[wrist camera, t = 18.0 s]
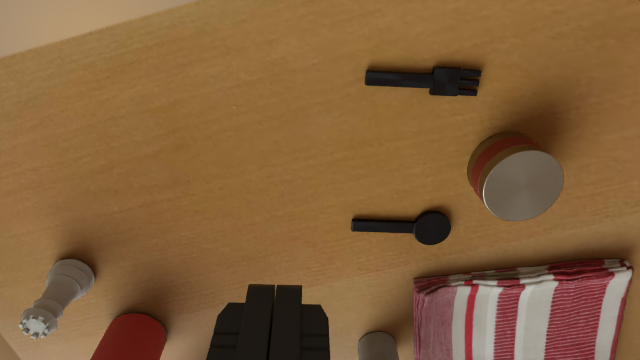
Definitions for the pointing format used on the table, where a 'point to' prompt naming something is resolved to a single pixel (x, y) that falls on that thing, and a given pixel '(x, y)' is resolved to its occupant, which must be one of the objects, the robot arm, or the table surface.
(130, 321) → the beer can
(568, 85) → the table surface
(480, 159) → the tin can
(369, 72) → the fork
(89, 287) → the rook chess piece
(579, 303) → the dish towel
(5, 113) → the table surface
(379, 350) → the grey hollow cylinder
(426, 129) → the table surface
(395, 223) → the spoon
